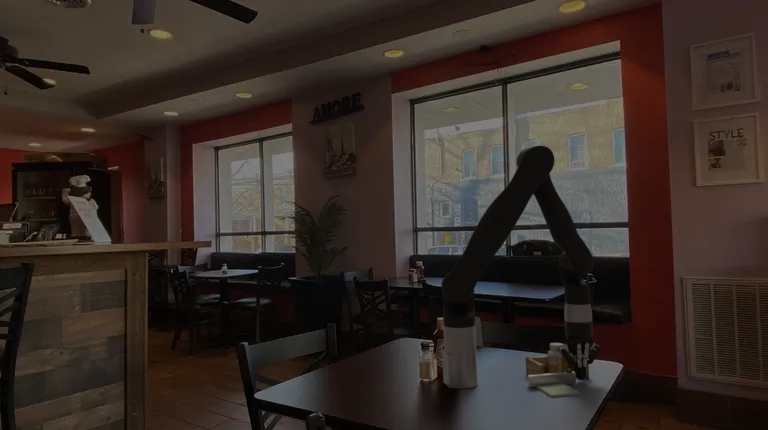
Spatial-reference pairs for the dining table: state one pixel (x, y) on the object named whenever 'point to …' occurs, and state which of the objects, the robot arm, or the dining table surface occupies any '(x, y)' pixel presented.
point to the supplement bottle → (556, 359)
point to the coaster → (558, 390)
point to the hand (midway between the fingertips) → (580, 379)
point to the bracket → (544, 365)
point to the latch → (552, 378)
